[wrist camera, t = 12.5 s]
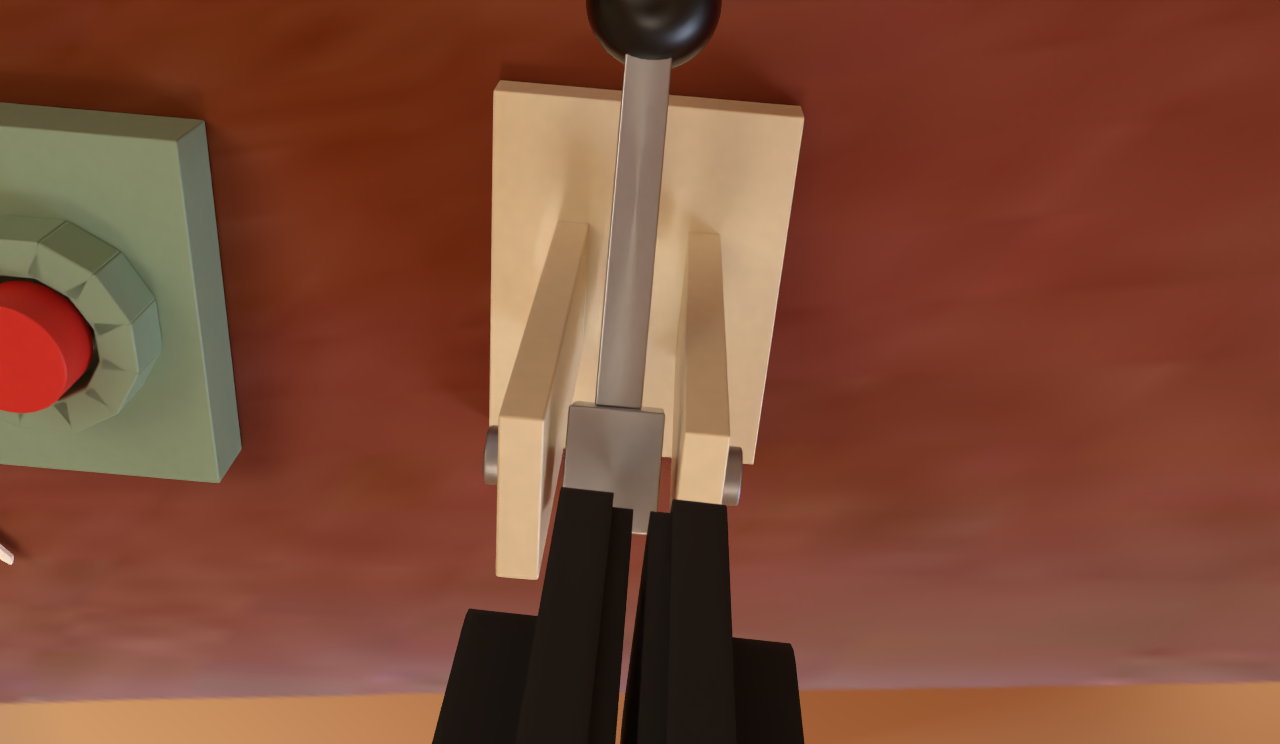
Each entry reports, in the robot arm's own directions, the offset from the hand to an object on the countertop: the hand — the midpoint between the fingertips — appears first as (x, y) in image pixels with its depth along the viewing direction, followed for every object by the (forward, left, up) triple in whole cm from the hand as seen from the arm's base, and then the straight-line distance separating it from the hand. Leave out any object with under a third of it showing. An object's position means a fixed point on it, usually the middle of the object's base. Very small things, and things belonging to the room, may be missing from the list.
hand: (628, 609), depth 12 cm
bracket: (+7, -1, -24) cm, 26 cm away
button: (+9, -19, -21) cm, 29 cm away
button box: (+9, -19, -24) cm, 32 cm away
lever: (+3, -1, -18) cm, 18 cm away
